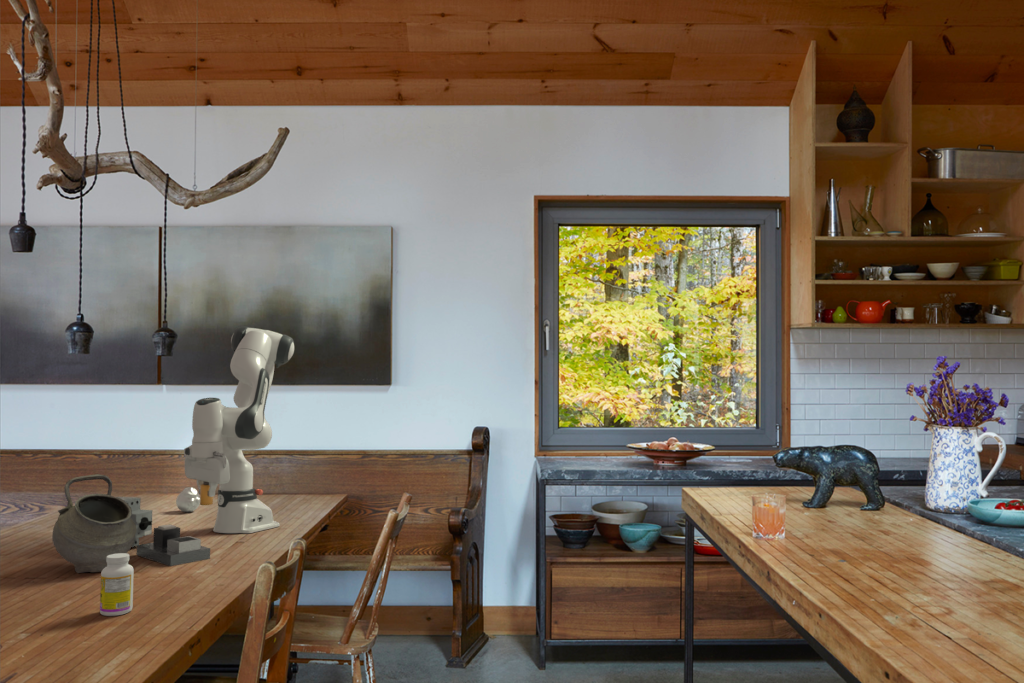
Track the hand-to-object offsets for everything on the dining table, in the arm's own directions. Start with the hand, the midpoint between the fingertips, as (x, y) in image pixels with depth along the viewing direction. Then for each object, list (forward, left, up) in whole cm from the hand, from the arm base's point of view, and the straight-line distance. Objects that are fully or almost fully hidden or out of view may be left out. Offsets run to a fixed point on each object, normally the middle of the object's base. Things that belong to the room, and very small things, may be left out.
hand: (206, 495), depth 235 cm
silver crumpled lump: (-31, -66, -17) cm, 75 cm away
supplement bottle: (+45, +41, -17) cm, 64 cm away
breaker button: (+10, -4, -13) cm, 17 cm away
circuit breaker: (+13, -22, -17) cm, 31 cm away
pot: (+31, -4, -17) cm, 36 cm away
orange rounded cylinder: (0, 0, -3) cm, 3 cm away
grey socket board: (+10, 0, -17) cm, 20 cm away
